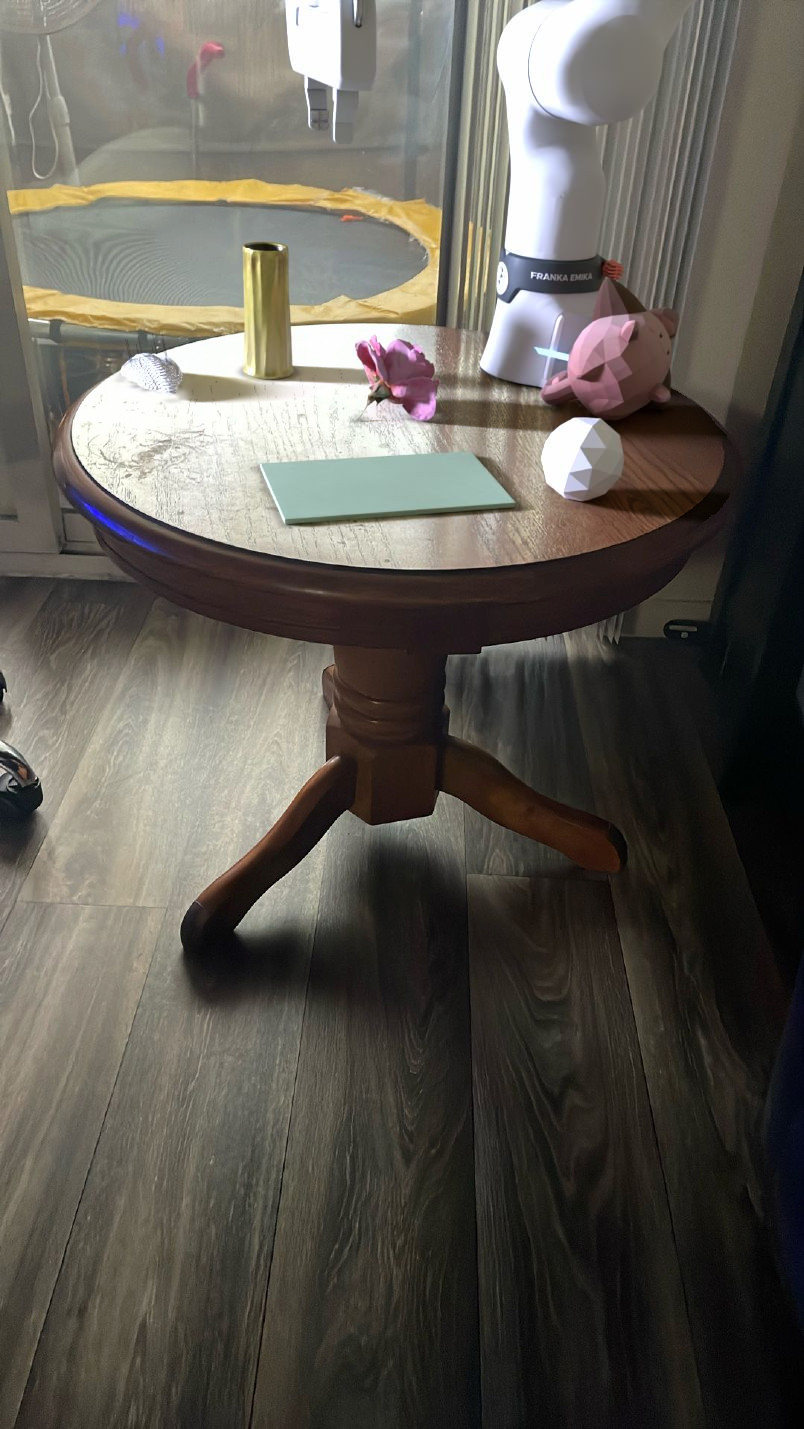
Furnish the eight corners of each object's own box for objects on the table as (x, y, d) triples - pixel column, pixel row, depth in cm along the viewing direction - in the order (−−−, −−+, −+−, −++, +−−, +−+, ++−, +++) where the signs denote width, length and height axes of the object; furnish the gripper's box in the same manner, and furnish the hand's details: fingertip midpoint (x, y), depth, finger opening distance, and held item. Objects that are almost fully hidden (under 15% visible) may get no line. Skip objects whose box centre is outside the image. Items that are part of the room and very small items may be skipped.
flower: (402, 420, 124) (456, 354, 119) (406, 458, 116) (464, 390, 111) (325, 363, 119) (378, 293, 114) (324, 399, 111) (380, 325, 106)
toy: (598, 312, 105) (671, 242, 111) (494, 345, 117) (565, 280, 123) (661, 451, 112) (726, 378, 119) (558, 469, 125) (621, 401, 131)
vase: (277, 383, 122) (275, 254, 114) (233, 374, 124) (228, 247, 116) (302, 369, 127) (302, 245, 119) (259, 361, 129) (256, 238, 121)
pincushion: (198, 392, 117) (189, 342, 113) (148, 405, 114) (136, 354, 111) (159, 364, 125) (149, 317, 122) (111, 376, 123) (100, 328, 119)
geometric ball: (559, 513, 103) (560, 434, 103) (636, 504, 98) (637, 421, 99) (526, 497, 96) (527, 413, 97) (608, 487, 92) (608, 398, 92)
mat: (470, 455, 107) (470, 450, 107) (515, 507, 97) (515, 502, 96) (260, 468, 101) (259, 463, 101) (284, 524, 91) (284, 519, 91)
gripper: (398, -36, 85) (391, 153, 93) (338, -38, 101) (336, 124, 109) (324, -41, 83) (323, 151, 91) (274, -42, 99) (277, 122, 107)
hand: (329, 136), depth 100 cm, fingers open, 8 cm apart
